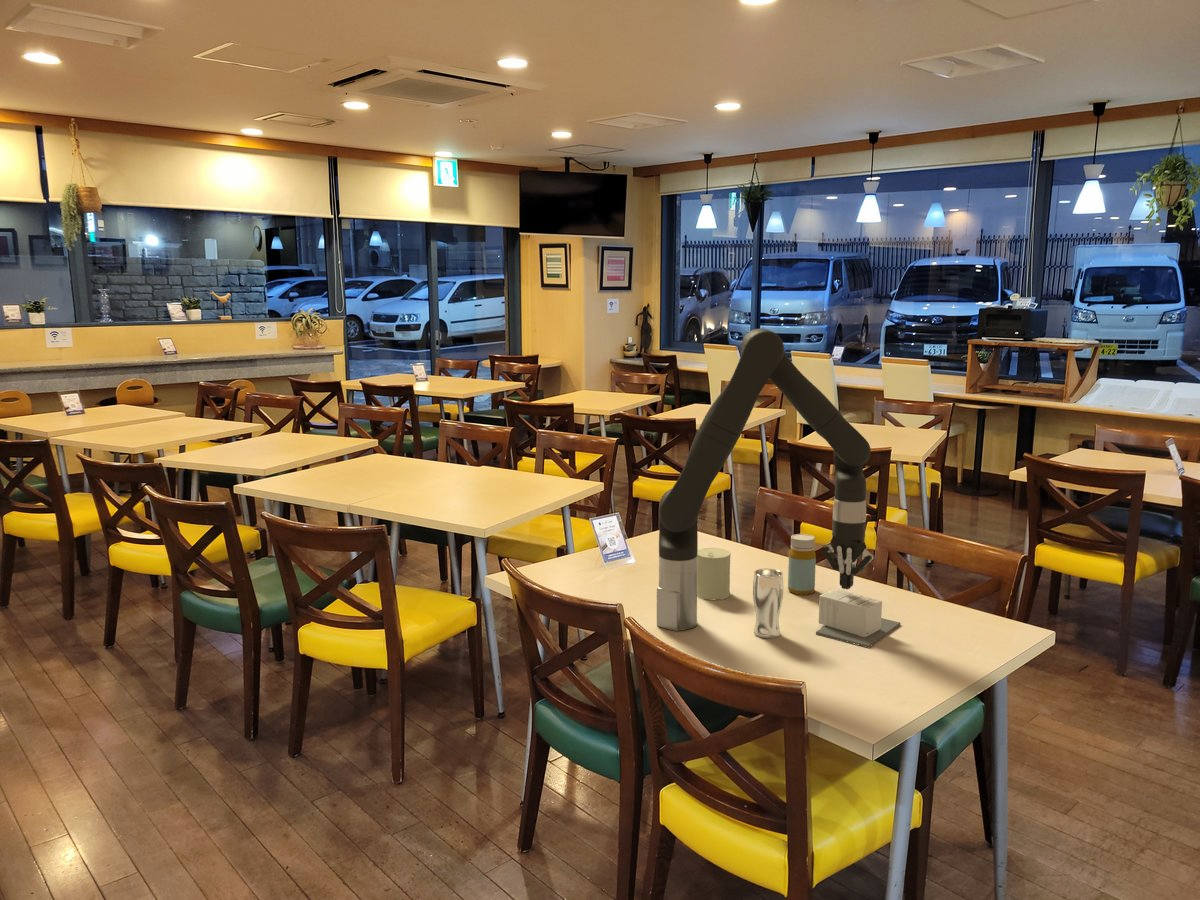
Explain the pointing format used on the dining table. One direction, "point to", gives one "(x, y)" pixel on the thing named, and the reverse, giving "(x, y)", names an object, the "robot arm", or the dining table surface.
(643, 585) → the dining table surface
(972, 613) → the dining table surface
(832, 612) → the supplement box
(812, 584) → the bottle
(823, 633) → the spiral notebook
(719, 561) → the can
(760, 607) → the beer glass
